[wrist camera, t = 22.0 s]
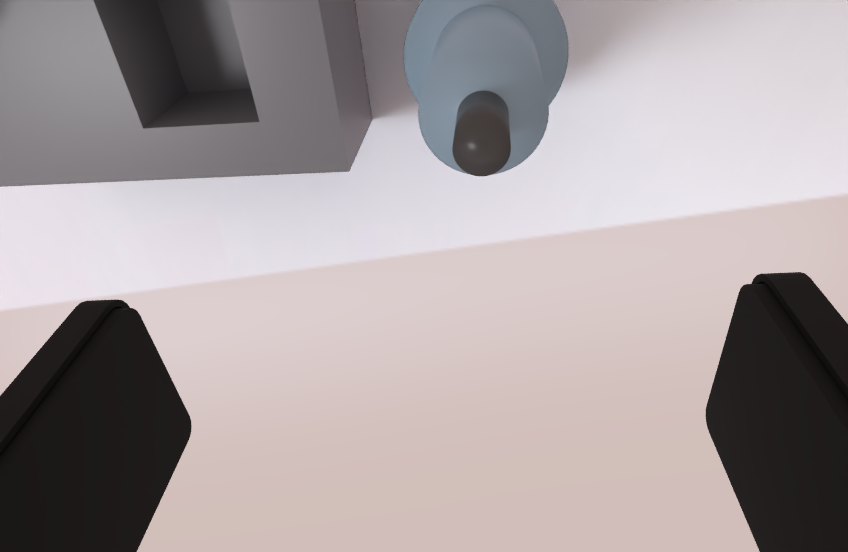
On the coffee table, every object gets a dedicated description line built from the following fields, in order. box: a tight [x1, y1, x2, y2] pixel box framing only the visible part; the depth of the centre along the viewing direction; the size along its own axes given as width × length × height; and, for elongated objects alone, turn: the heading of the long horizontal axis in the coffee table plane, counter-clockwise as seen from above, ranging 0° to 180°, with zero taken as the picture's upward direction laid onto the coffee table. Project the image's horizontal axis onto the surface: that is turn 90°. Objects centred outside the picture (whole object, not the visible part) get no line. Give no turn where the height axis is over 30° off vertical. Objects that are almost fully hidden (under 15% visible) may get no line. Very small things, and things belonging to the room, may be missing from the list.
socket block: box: [0, 0, 372, 187], centre depth 25 cm, size 17×10×7 cm, turn 95°
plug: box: [404, 0, 568, 176], centre depth 21 cm, size 6×6×14 cm
